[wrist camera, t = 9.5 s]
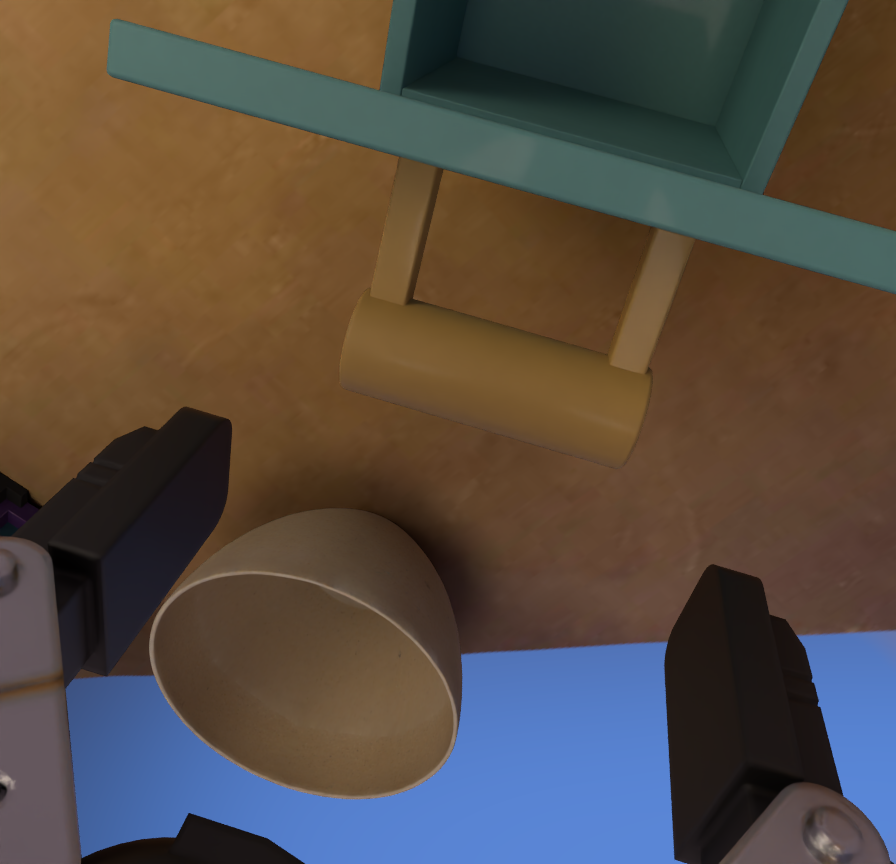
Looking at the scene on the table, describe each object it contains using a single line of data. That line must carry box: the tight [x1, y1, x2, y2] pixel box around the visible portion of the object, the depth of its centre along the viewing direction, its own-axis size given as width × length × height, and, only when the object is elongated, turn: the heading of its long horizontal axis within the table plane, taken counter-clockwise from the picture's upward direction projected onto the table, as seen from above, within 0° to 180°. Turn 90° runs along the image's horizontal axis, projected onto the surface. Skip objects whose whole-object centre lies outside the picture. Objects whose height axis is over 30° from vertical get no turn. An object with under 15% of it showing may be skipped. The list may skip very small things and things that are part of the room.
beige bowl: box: [149, 508, 462, 799], centre depth 48 cm, size 18×18×12 cm
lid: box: [107, 19, 896, 469], centre depth 19 cm, size 16×14×5 cm
